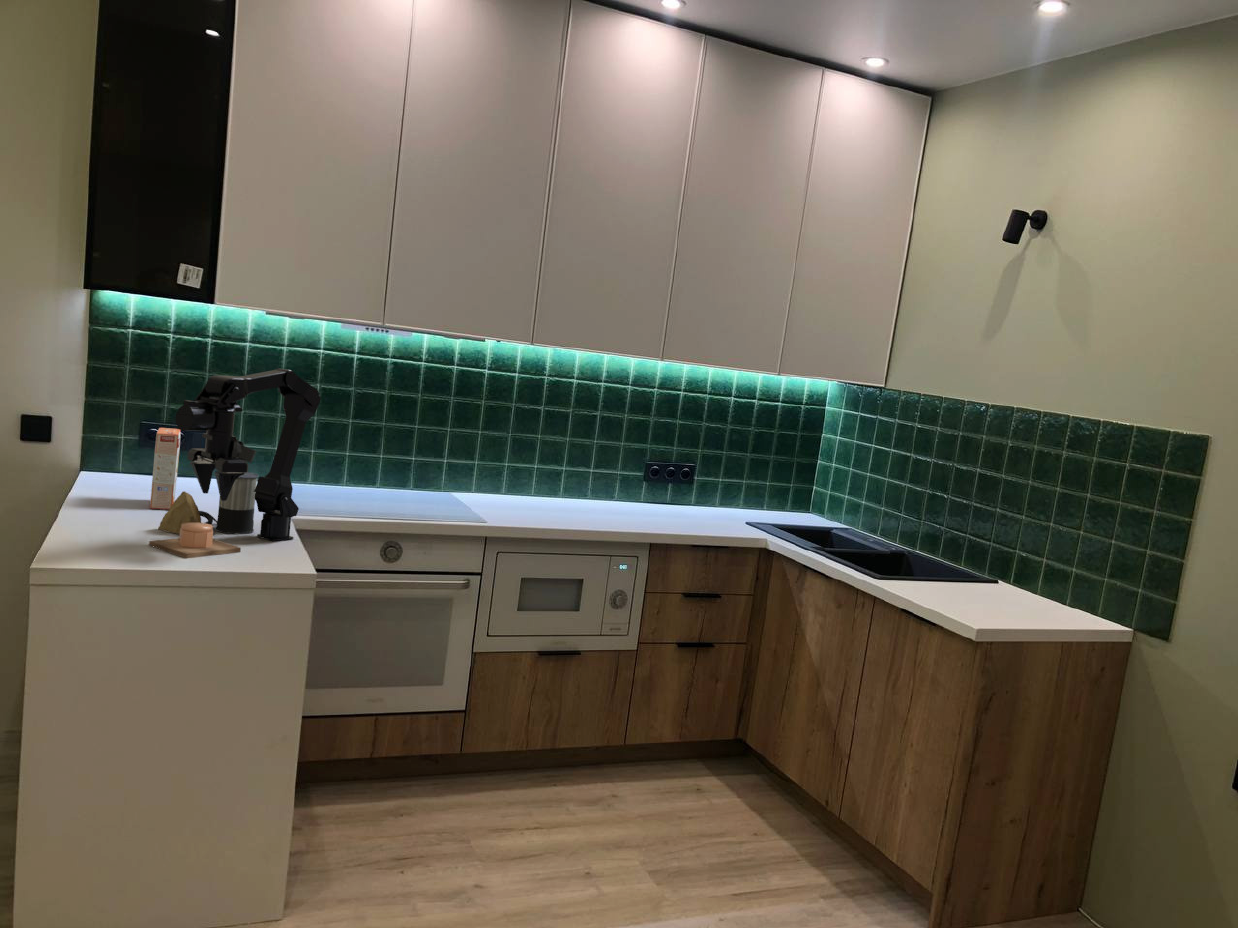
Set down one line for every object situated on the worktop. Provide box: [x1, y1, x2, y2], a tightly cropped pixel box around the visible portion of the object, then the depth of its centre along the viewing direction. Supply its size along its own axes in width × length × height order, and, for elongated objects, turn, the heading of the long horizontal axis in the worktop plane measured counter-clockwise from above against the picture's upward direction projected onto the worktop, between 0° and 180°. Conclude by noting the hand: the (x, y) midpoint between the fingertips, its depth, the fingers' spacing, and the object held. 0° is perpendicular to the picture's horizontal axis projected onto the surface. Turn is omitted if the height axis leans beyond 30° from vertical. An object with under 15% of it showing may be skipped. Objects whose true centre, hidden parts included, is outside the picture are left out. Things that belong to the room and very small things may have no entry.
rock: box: [157, 491, 202, 535], centre depth 243 cm, size 11×9×10 cm
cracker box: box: [149, 427, 182, 511], centre depth 273 cm, size 14×6×21 cm, turn 22°
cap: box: [178, 522, 214, 548], centre depth 229 cm, size 7×7×4 cm
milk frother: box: [199, 471, 259, 535], centre depth 252 cm, size 14×16×15 cm
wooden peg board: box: [148, 537, 241, 559], centre depth 229 cm, size 14×14×4 cm
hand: (214, 496), depth 231 cm, fingers open, 9 cm apart
